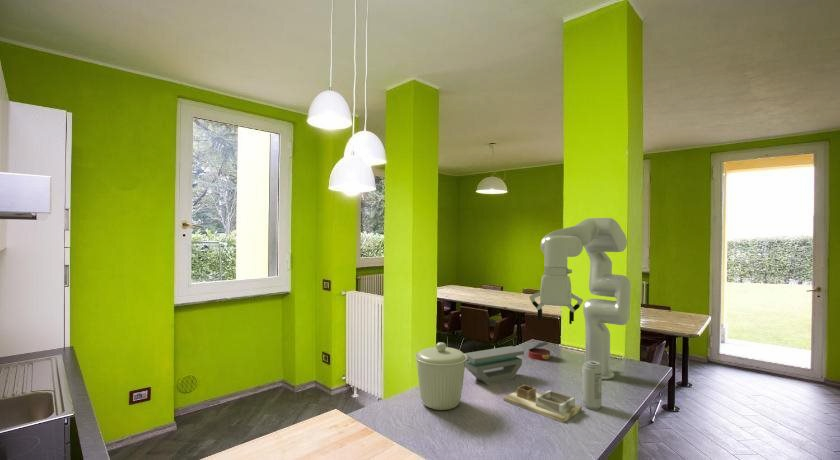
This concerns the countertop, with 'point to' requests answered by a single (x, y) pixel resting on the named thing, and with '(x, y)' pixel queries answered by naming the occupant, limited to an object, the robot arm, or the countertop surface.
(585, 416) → the countertop surface
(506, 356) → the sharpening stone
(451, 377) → the canister
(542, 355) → the canned food
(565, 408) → the wooden organizer tray
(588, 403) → the energy drink can
